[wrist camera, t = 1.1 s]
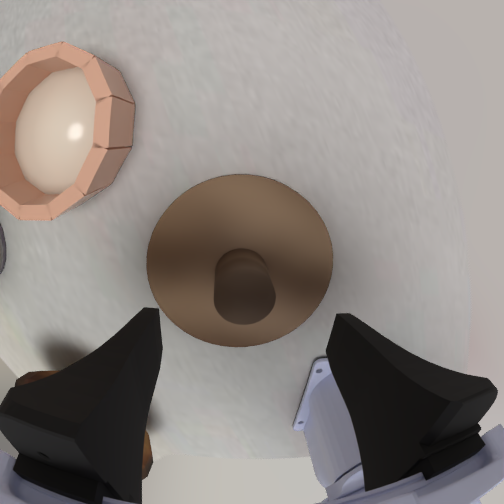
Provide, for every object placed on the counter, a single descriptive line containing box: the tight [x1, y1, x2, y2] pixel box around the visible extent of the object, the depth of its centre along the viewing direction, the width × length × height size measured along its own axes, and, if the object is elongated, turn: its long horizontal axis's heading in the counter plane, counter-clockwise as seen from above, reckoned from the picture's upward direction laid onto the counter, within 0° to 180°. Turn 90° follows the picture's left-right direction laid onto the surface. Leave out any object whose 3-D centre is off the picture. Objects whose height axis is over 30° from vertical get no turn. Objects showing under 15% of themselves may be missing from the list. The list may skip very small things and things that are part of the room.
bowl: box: [0, 42, 135, 220], centre depth 11 cm, size 9×9×4 cm
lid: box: [147, 174, 333, 347], centre depth 16 cm, size 11×11×4 cm
